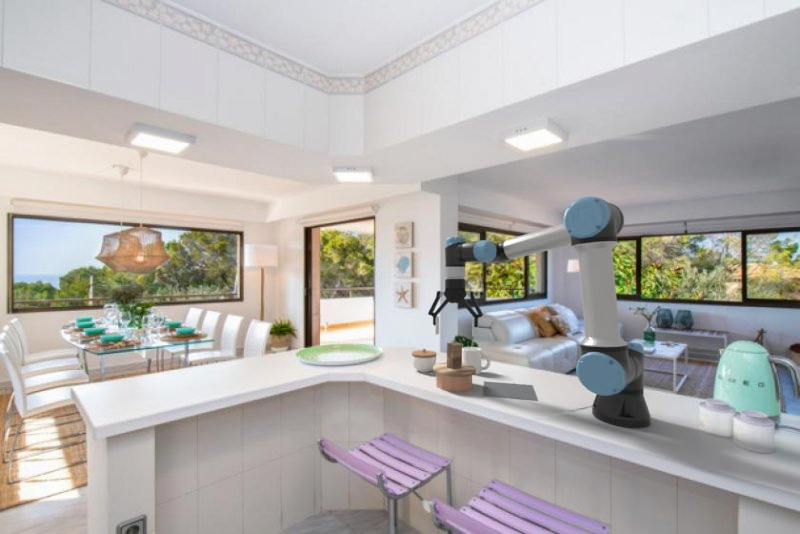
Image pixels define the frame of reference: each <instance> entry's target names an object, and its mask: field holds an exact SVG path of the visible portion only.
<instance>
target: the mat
mask: <svg viewBox="0 0 800 534" xmlns="http://www.w3.org/2000/svg"><path fill="white" fill-rule="evenodd" d="M482 391H483V392H482V396H483V397H491V398H499V399H500V398H501V399H510V400H521V401H523V400H524V401H534V402H535V401H536V402H538V401H539V399H538V396H537V393H536V391H535V388H534V386H533V385H532V384H524V383H523V384H520V383H510V382H498V381H486V380H484V381H483V390H482Z"/></svg>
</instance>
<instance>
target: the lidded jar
mask: <svg viewBox="0 0 800 534" xmlns="http://www.w3.org/2000/svg"><path fill="white" fill-rule="evenodd" d="M411 360H412V365H413V367H414V368H415V370H416V371H417V372H419V371H420V373H429V371H430V372H431V371H433V366H434V365H435V364H437V352H435V351H433V350H429V349H427V350H426V348H423V349H418V350H414V351H412V352H411Z"/></svg>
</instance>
